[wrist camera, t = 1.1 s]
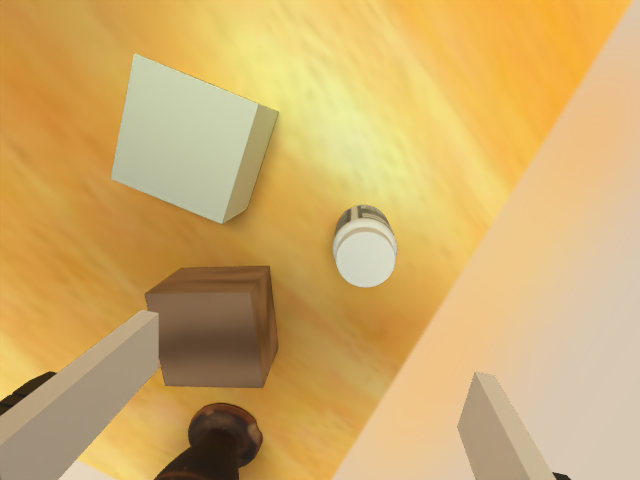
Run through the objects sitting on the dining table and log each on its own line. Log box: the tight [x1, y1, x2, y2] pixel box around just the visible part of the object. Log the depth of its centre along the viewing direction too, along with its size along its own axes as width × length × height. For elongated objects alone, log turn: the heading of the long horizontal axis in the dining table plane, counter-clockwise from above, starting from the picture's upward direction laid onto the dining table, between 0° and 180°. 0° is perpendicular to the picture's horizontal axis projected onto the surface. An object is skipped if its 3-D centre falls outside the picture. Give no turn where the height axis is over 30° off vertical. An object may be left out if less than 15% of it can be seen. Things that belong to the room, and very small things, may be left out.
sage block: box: [111, 53, 278, 224], centre depth 27 cm, size 9×9×6 cm
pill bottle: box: [333, 205, 397, 288], centre depth 26 cm, size 5×5×8 cm
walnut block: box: [145, 266, 278, 388], centre depth 31 cm, size 9×9×6 cm
